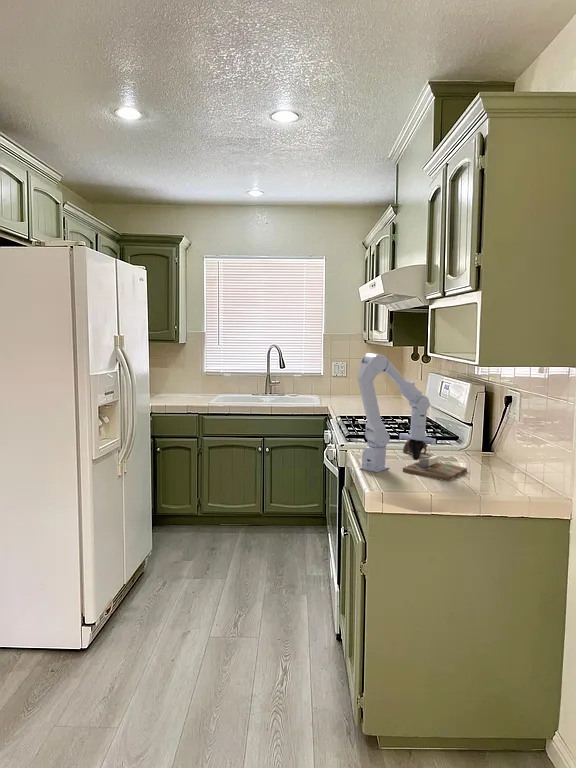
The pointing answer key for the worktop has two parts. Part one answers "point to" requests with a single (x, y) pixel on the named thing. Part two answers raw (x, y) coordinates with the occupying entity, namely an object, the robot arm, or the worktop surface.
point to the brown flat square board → (436, 471)
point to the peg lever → (427, 461)
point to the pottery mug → (407, 448)
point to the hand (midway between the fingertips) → (416, 459)
